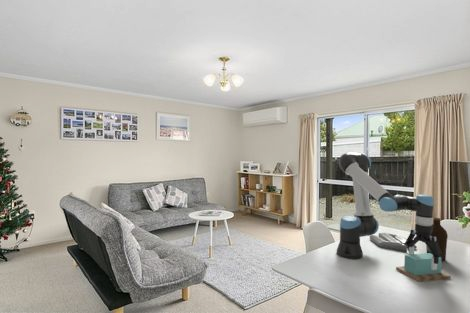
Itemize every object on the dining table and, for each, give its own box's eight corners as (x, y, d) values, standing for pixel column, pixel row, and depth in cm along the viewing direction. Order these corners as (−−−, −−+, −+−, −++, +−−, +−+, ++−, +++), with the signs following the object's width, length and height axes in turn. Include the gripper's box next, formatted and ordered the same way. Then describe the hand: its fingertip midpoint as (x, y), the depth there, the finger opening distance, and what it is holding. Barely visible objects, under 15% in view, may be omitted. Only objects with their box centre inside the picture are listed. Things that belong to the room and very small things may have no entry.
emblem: (424, 241, 184) (398, 246, 172) (424, 248, 184) (398, 254, 172) (386, 230, 209) (361, 234, 197) (386, 236, 209) (361, 241, 197)
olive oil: (441, 256, 169) (442, 216, 169) (450, 262, 159) (451, 220, 159) (422, 254, 172) (423, 215, 171) (430, 260, 161) (431, 219, 161)
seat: (418, 281, 134) (418, 273, 134) (396, 269, 148) (396, 262, 148) (450, 278, 138) (450, 270, 138) (426, 267, 152) (426, 260, 152)
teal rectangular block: (415, 275, 138) (416, 259, 138) (404, 269, 145) (404, 254, 145) (441, 272, 141) (441, 257, 141) (428, 267, 148) (429, 252, 148)
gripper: (453, 230, 131) (451, 273, 132) (409, 218, 156) (408, 254, 156) (440, 231, 130) (438, 274, 130) (398, 218, 154) (397, 255, 155)
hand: (422, 263), depth 143 cm, fingers open, 13 cm apart
